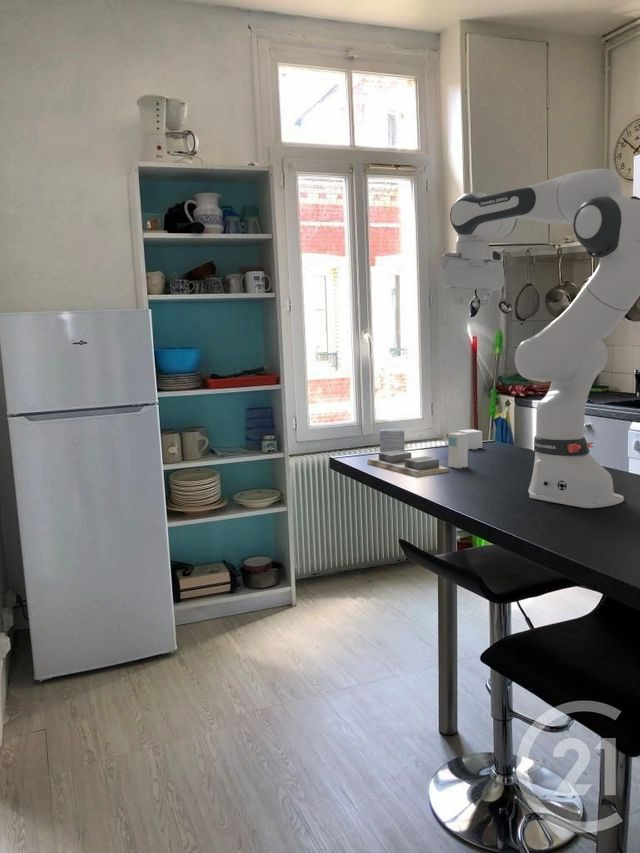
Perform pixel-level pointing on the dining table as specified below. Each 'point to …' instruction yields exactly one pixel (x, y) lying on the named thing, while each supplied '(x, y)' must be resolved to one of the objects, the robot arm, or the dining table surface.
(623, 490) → the dining table surface
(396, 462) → the mounting board
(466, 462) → the block
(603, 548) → the dining table surface
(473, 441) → the white cube
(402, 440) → the medicine box
